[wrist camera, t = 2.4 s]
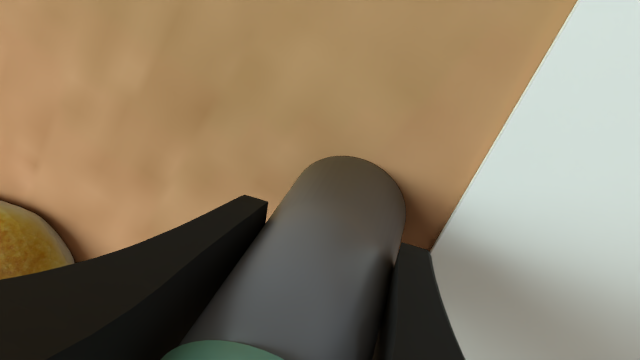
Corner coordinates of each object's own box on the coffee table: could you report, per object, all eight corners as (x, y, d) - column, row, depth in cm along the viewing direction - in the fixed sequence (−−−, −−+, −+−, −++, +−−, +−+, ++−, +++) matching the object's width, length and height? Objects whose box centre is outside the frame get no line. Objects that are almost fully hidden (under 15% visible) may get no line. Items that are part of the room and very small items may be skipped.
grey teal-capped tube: (431, 185, 12) (377, 500, 6) (381, 278, 14) (291, 606, 7) (309, 132, 13) (115, 368, 6) (274, 230, 14) (93, 502, 8)
